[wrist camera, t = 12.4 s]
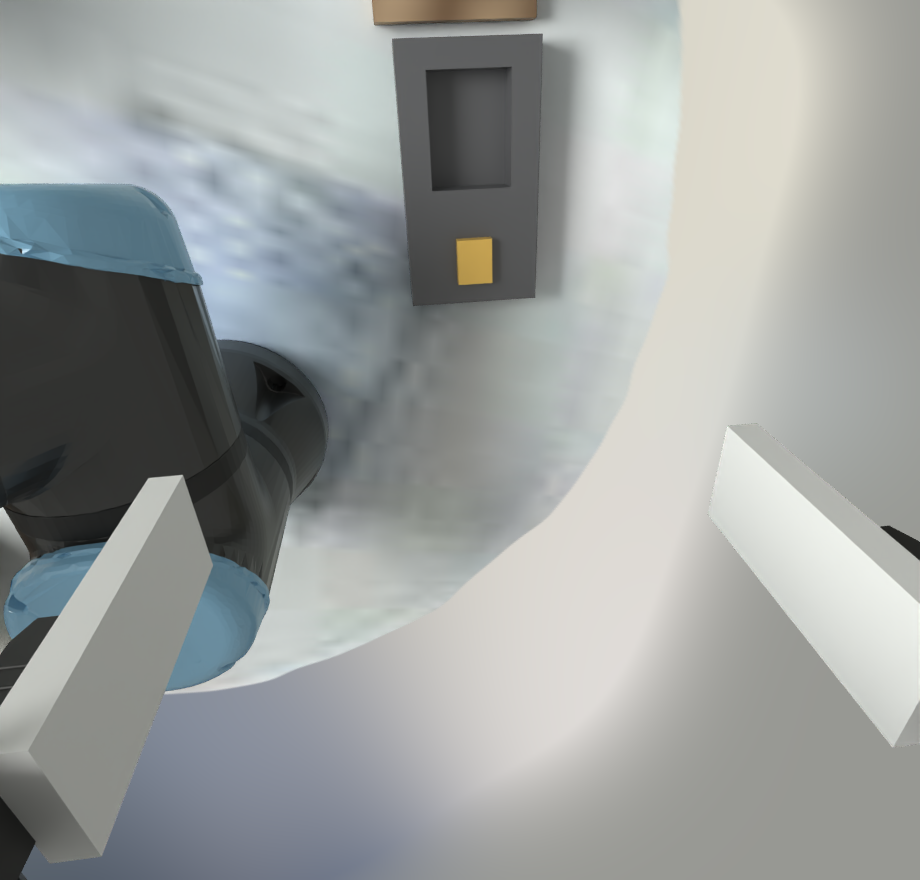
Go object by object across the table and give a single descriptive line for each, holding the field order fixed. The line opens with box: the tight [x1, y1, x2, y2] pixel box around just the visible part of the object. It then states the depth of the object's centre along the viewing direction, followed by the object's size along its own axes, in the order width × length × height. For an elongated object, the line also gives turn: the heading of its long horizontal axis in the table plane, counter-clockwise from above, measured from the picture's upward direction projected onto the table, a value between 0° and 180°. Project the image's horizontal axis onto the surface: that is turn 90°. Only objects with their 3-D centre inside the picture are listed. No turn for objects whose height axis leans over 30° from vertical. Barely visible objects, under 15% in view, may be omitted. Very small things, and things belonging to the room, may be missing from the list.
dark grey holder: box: [392, 34, 543, 306], centre depth 39 cm, size 9×16×4 cm, turn 2°
